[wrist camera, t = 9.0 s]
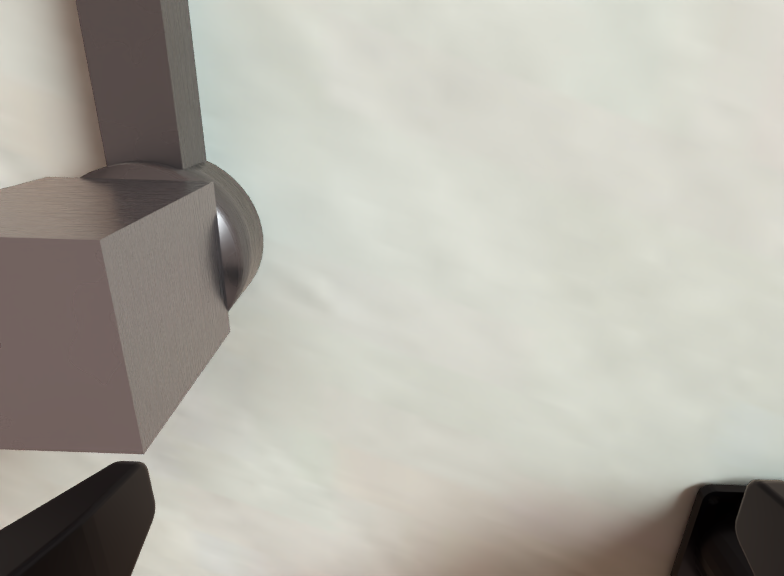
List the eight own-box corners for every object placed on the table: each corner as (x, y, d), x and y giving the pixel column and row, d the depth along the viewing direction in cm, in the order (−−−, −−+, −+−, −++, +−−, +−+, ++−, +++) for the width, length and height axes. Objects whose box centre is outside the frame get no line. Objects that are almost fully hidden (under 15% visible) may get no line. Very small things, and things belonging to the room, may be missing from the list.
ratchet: (268, 310, 20) (215, 398, 14) (118, 305, 20) (6, 391, 14) (217, -348, 13) (72, -680, 7) (-16, -351, 13) (-334, -681, 7)
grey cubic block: (230, 331, 17) (143, 454, 11) (82, 326, 17) (-76, 446, 11) (213, 181, 15) (99, 239, 9) (46, 176, 15) (-164, 232, 9)
